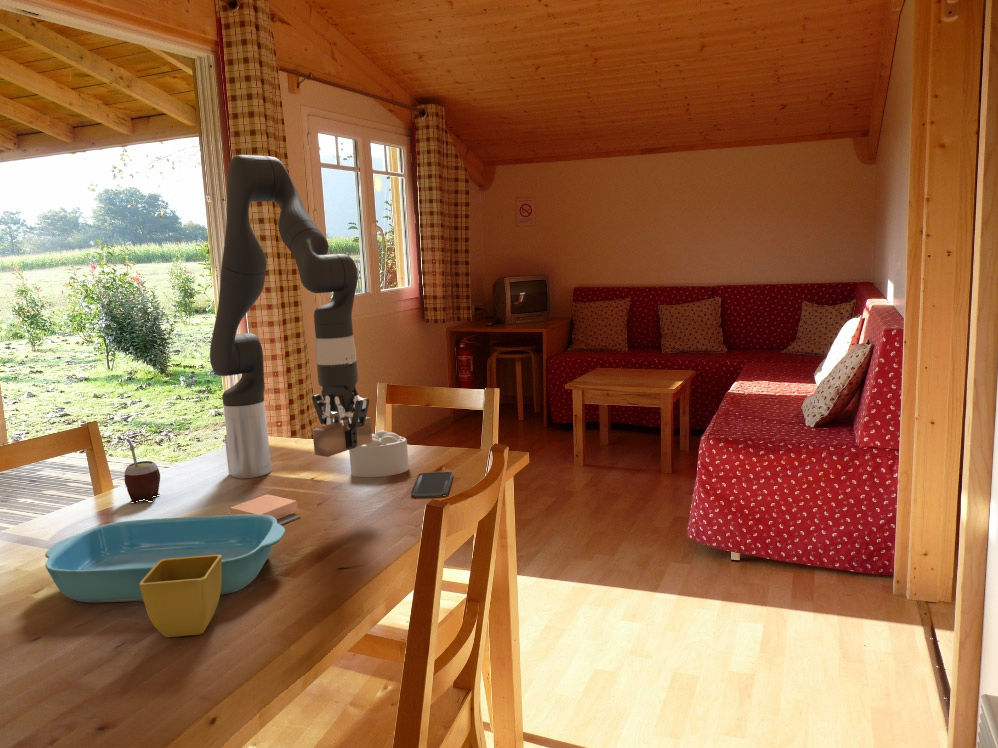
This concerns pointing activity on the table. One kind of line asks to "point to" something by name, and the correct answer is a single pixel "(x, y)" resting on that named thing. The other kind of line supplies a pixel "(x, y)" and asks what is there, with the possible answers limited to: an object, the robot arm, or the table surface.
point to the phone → (432, 484)
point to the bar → (338, 438)
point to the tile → (266, 506)
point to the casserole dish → (159, 553)
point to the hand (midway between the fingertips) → (344, 446)
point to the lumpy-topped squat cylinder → (380, 456)
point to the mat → (286, 519)
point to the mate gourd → (141, 478)
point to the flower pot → (182, 594)
